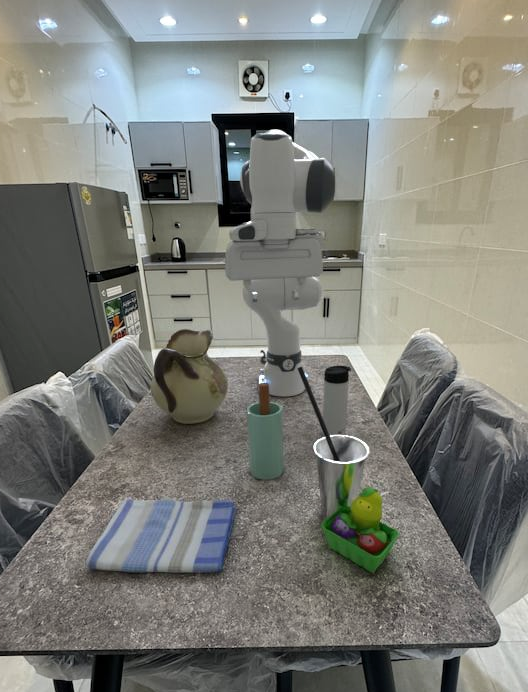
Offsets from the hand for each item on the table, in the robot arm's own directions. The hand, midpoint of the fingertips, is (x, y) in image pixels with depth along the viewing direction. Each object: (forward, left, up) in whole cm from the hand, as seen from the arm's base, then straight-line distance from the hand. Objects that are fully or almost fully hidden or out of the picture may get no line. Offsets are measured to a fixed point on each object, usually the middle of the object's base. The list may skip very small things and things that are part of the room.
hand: (275, 300), depth 82 cm
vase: (+7, -4, -38) cm, 39 cm away
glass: (+25, +6, -38) cm, 46 cm away
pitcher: (-27, -20, -38) cm, 51 cm away
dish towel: (+24, -26, -38) cm, 52 cm away
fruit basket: (+35, +7, -38) cm, 52 cm away
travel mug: (-4, +17, -38) cm, 42 cm away
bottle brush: (+7, -4, -37) cm, 38 cm away
